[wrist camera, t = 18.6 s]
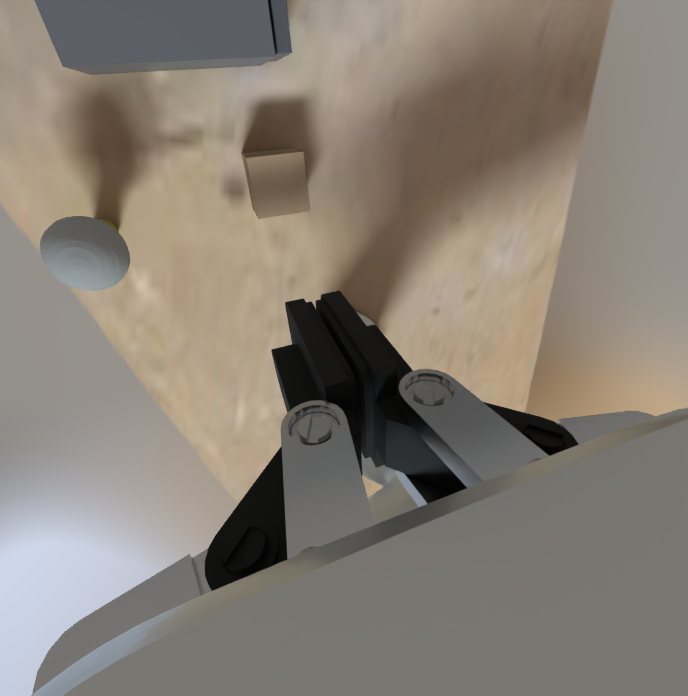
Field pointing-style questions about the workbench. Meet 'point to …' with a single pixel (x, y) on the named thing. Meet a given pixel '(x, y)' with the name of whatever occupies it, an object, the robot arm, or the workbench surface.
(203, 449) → the workbench surface
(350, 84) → the workbench surface
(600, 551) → the robot arm
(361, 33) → the workbench surface
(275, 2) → the grey drawer
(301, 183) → the brown block
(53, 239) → the light bulb
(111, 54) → the box
